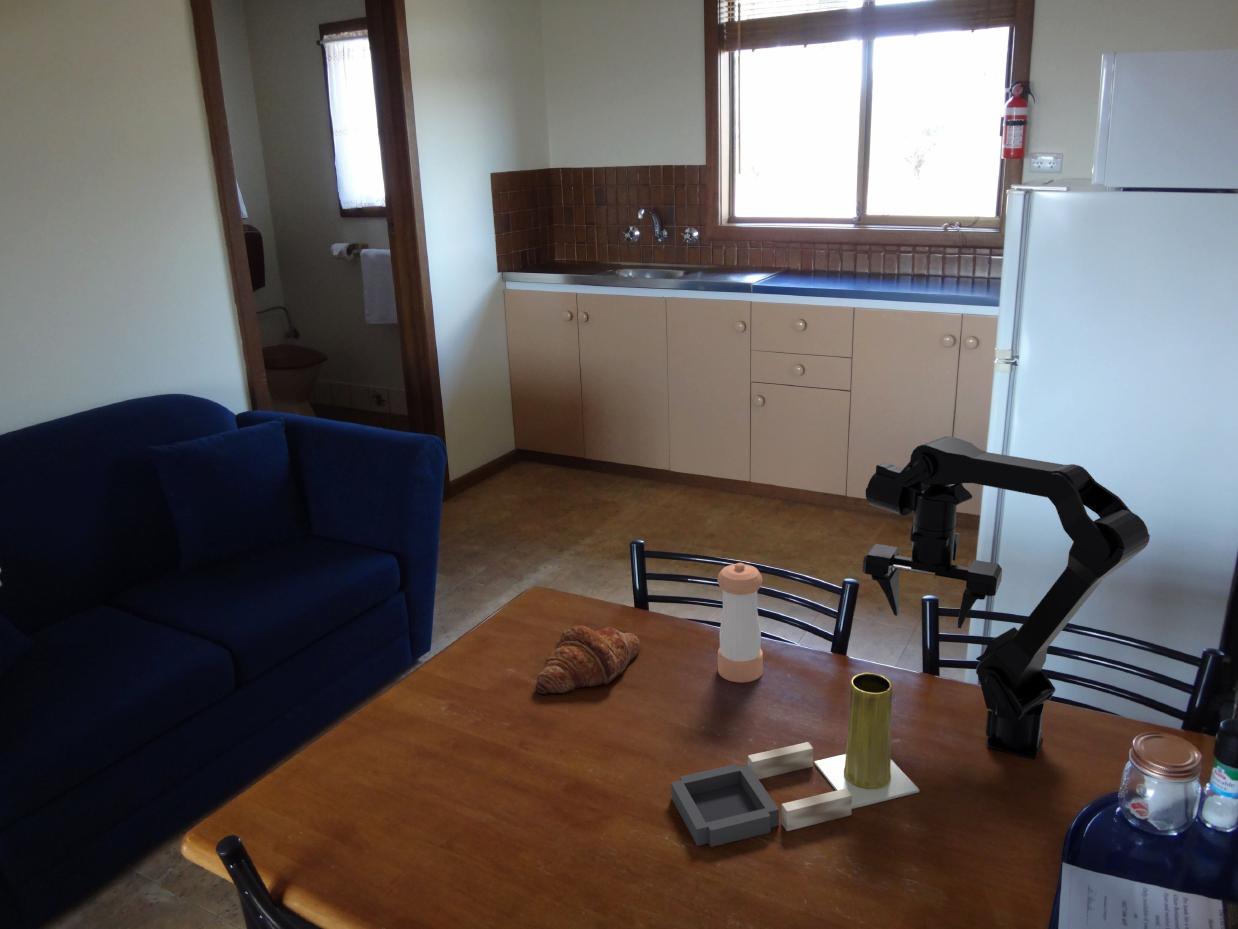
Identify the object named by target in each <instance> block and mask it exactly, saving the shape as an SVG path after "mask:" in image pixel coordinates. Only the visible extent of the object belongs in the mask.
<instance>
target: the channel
mask: <svg viewBox="0 0 1238 929" xmlns="http://www.w3.org/2000/svg"><path fill="white" fill-rule="evenodd" d="M813 764H814V747H813V745H811V744H810V742H809V741H806V742H802V743H798V744H794V745H793V744H792V745H789V746H788V745H787V746H785V747H780V748H775V749H770V750H767V751H762V752H757V753H753V754H748V755H747V765H749V767H750V768H751V769H752V771H753V772H754V774H755V775H756V777H757V778H758V780H762V779H766V778H769V777H770V778H771V777H773V776H778V775H783V774H786V773H787V774H788V773H791V772H796V771H799V770H804V769H808V768H813ZM852 810H853V809H852V795H851V794H850V792H849V791H848V790H847V789H846V788H845V789H841V790H837V791H836V790H833V791H829V792H826V793H821V794H816V795H813V796H808V797H805V798H800V799H796V800H791V801H788V802H783V803H781V825H782V826H783V828H784V829H785V831H786V832H791V831H792V830H798V829H802V828H805V827H809V826H813V825H818V824H821V823H824V822H825V823H826V822H830V821H833V820H837V819H841V818H845V817H849V816H852Z"/></svg>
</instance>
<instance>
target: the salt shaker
mask: <svg viewBox="0 0 1238 929" xmlns="http://www.w3.org/2000/svg"><path fill="white" fill-rule="evenodd" d="M717 583H718V585H719V587H720V589H721V590H722V615H721V621H720V628H719V634H718V635H719V648H718V650H717V672H718V674H719V676H720V677H721V678H723V679H724V680H726V681H729V682H732V683H733V682H734V683H750V682H753V681H756V680H758V679H759V678H761V676H762V675H763V671H764V670H763V668H764V662H763V660H764V656H763V655H764V653H763V650H762V648H761V643H762V642H761V640H762V637H761V635H762V631H761V625H760V620H759V612H758V591H759V589H760V588H761V586H762V585H763V576H762V574H761V573H760V571H759V570H758V569H757V567H755V566H752V565H750V564H745V563H743V562H738V563H737V562H736V563H735V564H730V565H727V566H725V567H723V568H722V569H721V570H720V571H719V573H718V576H717Z"/></svg>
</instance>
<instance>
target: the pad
mask: <svg viewBox="0 0 1238 929" xmlns="http://www.w3.org/2000/svg"><path fill="white" fill-rule="evenodd" d="M845 760H846V753H845V754H841V755H840V754H839V755H835V756H832V757H831V756H830V757H828V758H823V759H819V760H813V764H814V765H815V767H816V768H817V769H818V770H819V772H821V774H822V775H823V776H824V777H825V779H826V780H827V781H828V783H829V784H830V785H831V786H832V787H833V789H834V791H837V790H841V789H845V788H846V789H847V790H848V791H849V792H850V794H851V795H852V809H851V810H854V809H857V808H861V807H866V806H870V805H873V804H877V803H881V802H885V801H890V800H893V799H896V798H898V799H899V798H901V797H905V796H909V795H914V794H917V793H920V789H919V787H918V786H917V785H915V783H914V782H913V781H912V780H911V779H910V778H909V777H908V776H907V775H906V774H905V772H904V771H902V770H901V768H900V767H899V766H898V765H897V763H895V761H894V760H893V759H891V761H890V774H891V779H890V781H889V782H888V783H887V784H886V785H885V786H883V787H880V788H875V789H867V788H862V787H859V786H856V785H854V784H853V783H851V782H850V781H849V780H848V779H847V778H846V776H845V774H844V768H845Z"/></svg>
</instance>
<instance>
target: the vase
mask: <svg viewBox="0 0 1238 929" xmlns="http://www.w3.org/2000/svg"><path fill="white" fill-rule="evenodd" d="M849 693H850V699H849V700H850V701H849V715H848V730H847V740H846V749H845V750H846V751H845V754H846V760H845V768H844V774H845V776H846V778H847V779H848V780H849V781H850V782H851V783H853V784H854V785H856V786H859V787H862V788H867V789H875V788H880V787H883V786H885V785H886V784H887V783H888V782H889V781H890V779H891V774H890V761H891V760H892V759H891V755H892V754H891V746H892V745H891V743H892V742H891V739H892V737H891V726H892V704H893V684H892V682H891V680H890V679H889V678H887V677H886V676H885V675H881V674H880V673H875V672H861V673H858V674H856V675H854V676H853V677H852V678H851V679H850V692H849Z"/></svg>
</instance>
